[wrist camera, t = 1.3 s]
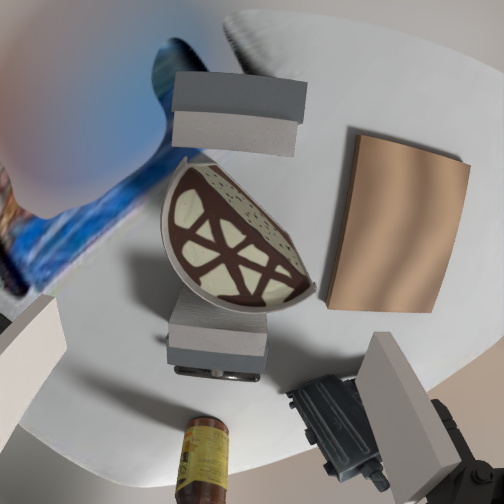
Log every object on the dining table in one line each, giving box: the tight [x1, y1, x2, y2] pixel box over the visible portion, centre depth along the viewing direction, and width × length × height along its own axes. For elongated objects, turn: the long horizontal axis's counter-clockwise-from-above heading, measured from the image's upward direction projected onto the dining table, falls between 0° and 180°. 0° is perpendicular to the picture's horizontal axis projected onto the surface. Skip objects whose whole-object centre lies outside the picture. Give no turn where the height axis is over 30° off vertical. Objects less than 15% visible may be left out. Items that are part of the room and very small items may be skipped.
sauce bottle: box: [175, 418, 229, 504], centre depth 30 cm, size 7×6×20 cm
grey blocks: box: [166, 71, 308, 382], centre depth 26 cm, size 9×28×7 cm, turn 174°
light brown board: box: [326, 135, 471, 313], centre depth 28 cm, size 13×17×1 cm
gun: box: [286, 374, 390, 492], centre depth 28 cm, size 3×17×15 cm
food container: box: [160, 156, 317, 314], centre depth 24 cm, size 12×6×10 cm, turn 45°
